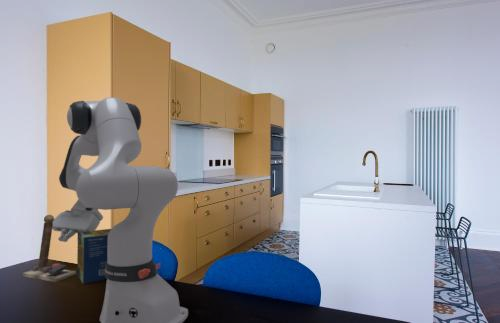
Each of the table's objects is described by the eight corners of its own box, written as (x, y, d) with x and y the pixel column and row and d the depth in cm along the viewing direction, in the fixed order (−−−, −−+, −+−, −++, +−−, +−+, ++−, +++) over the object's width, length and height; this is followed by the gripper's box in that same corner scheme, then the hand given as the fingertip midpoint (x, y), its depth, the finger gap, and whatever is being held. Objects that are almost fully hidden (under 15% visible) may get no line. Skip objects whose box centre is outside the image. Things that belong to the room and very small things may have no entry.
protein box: (76, 275, 119) (76, 231, 119) (121, 268, 128) (121, 227, 128) (82, 284, 110) (82, 237, 110) (129, 275, 119) (130, 231, 120)
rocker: (66, 268, 118) (66, 265, 118) (54, 274, 114) (54, 271, 114) (60, 267, 119) (60, 264, 119) (48, 273, 115) (48, 270, 115)
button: (62, 268, 121) (62, 263, 121) (55, 270, 118) (55, 265, 119) (56, 267, 122) (56, 262, 122) (50, 270, 119) (50, 264, 119)
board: (75, 274, 120) (76, 267, 120) (55, 282, 112) (56, 274, 112) (43, 269, 125) (43, 262, 125) (22, 276, 118) (22, 268, 118)
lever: (49, 270, 121) (56, 215, 123) (41, 271, 118) (48, 215, 120) (42, 269, 122) (50, 214, 125) (34, 270, 119) (42, 214, 122)
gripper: (59, 205, 138) (36, 233, 129) (98, 208, 131) (77, 238, 122) (68, 214, 142) (47, 242, 133) (106, 217, 135) (87, 247, 126)
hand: (62, 240), depth 127 cm, fingers closed
